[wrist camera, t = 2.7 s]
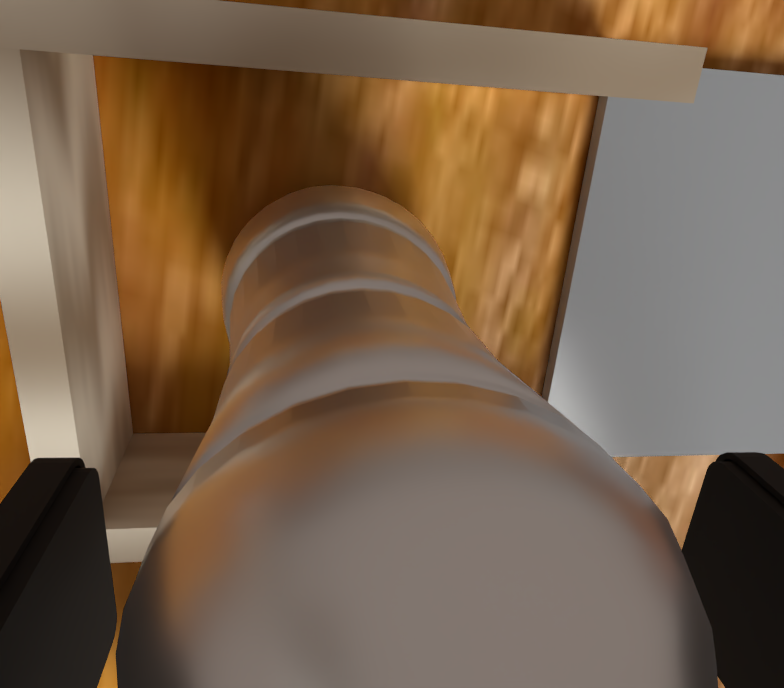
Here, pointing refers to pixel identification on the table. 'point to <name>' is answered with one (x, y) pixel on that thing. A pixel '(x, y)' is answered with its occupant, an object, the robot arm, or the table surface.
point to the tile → (678, 275)
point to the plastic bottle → (395, 495)
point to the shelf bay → (90, 198)
